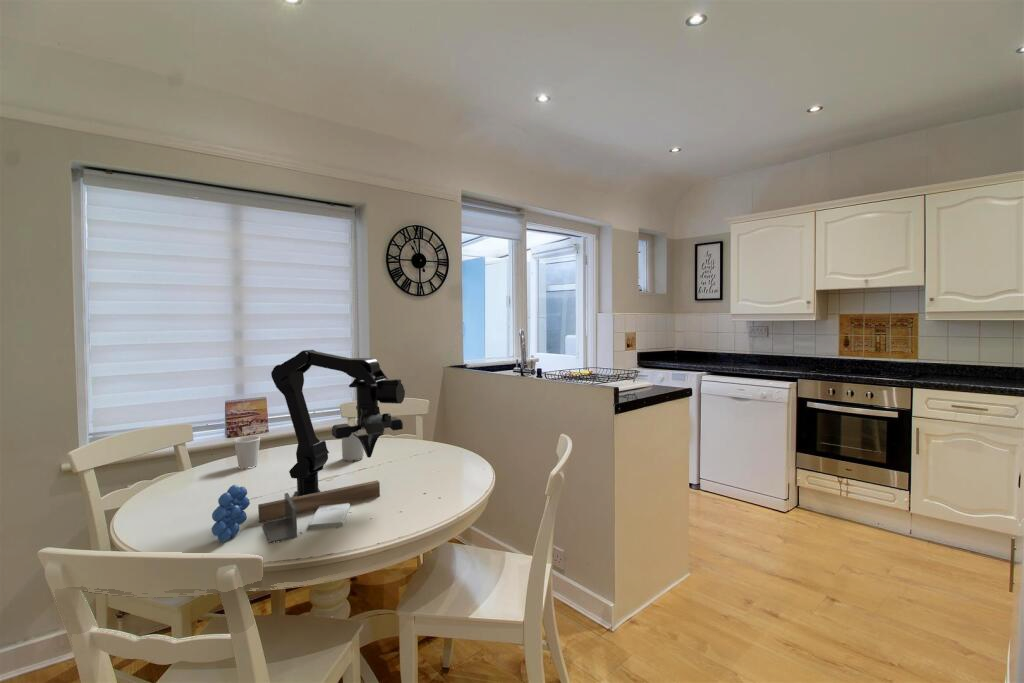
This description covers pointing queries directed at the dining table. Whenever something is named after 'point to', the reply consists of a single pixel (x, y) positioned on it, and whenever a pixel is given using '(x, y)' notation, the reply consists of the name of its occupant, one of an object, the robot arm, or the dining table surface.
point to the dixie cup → (247, 451)
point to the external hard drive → (329, 516)
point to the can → (352, 448)
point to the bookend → (283, 524)
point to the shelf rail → (320, 500)
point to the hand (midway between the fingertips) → (369, 457)
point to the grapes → (230, 512)
